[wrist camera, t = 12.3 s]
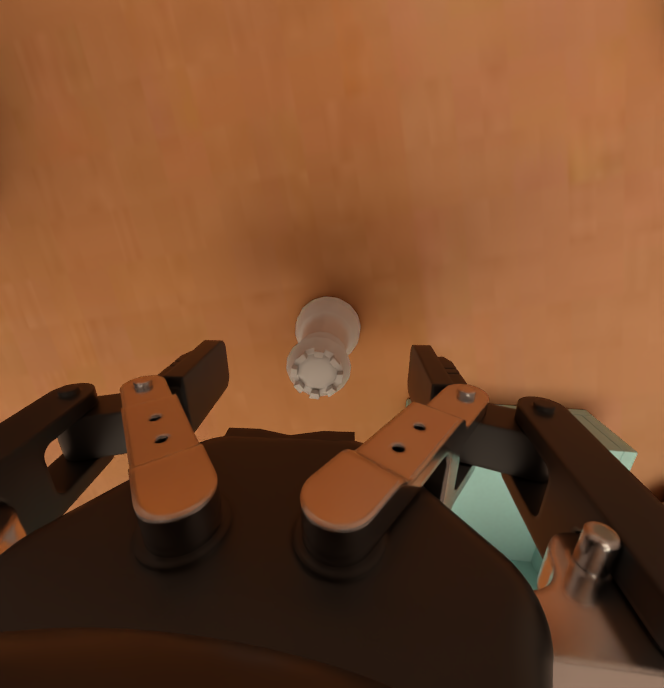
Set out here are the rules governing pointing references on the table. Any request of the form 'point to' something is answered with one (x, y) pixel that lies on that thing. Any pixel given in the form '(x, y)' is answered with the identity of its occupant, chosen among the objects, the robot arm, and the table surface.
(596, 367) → the table surface
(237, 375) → the table surface
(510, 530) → the storage box
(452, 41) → the table surface
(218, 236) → the table surface
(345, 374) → the rook chess piece
